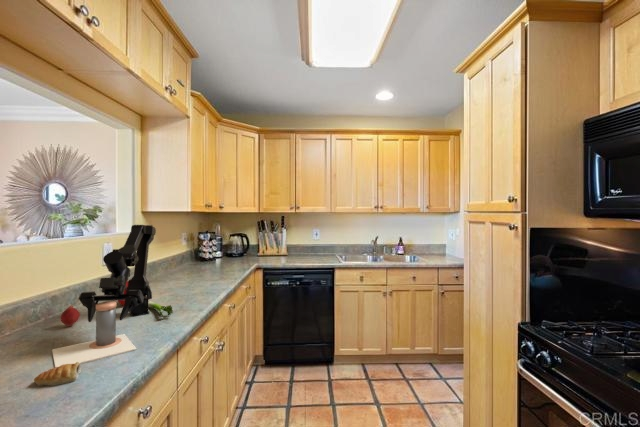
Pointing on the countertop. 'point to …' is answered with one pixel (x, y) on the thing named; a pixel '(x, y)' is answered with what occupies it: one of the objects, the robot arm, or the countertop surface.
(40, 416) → the countertop surface
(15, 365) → the countertop surface
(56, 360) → the card
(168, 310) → the celery
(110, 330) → the tube
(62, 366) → the pastry
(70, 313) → the onion
